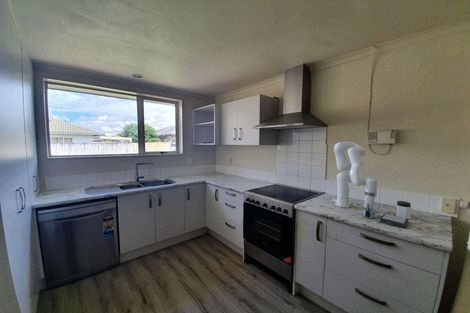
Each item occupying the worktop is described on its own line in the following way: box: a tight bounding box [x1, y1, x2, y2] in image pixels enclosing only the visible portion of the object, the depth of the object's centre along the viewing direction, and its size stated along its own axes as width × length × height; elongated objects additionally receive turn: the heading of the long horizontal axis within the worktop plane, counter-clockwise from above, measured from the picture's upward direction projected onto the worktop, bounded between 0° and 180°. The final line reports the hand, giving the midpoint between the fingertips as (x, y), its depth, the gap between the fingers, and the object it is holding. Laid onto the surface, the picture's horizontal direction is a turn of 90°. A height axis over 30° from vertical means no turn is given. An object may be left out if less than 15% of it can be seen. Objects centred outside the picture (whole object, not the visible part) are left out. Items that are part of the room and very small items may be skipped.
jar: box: [395, 200, 412, 220], centre depth 148 cm, size 9×8×12 cm
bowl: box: [362, 207, 376, 219], centre depth 149 cm, size 7×7×6 cm
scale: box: [379, 213, 409, 229], centre depth 138 cm, size 14×16×4 cm
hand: (369, 215), depth 150 cm, fingers closed on bowl, 7 cm apart
